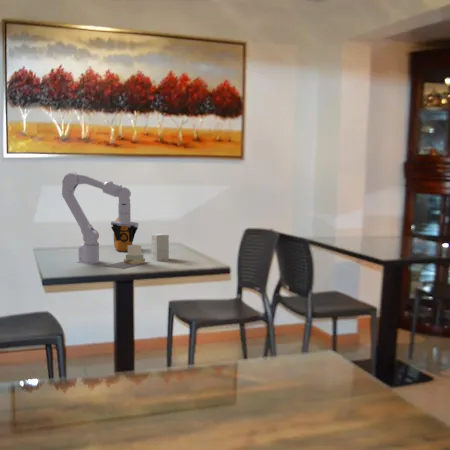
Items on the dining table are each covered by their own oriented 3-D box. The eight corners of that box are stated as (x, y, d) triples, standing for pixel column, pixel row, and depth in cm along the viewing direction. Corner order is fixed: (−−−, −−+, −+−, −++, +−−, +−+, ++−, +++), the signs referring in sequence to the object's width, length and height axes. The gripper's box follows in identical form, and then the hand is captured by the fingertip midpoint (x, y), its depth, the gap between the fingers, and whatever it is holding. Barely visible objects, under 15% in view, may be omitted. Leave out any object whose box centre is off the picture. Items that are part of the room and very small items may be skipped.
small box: (168, 261, 288) (168, 234, 287) (156, 261, 286) (156, 235, 284) (163, 258, 296) (163, 232, 294) (151, 259, 293) (151, 233, 291)
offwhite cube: (127, 254, 278) (127, 245, 278) (133, 253, 282) (133, 244, 281) (135, 255, 276) (135, 246, 275) (141, 254, 280) (141, 245, 279)
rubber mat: (102, 266, 270) (102, 266, 270) (129, 260, 287) (129, 260, 287) (124, 269, 264) (124, 269, 264) (151, 263, 281) (151, 262, 281)
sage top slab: (125, 259, 278) (125, 254, 278) (133, 257, 283) (133, 253, 283) (135, 260, 275) (135, 256, 275) (143, 258, 280) (143, 254, 280)
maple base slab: (124, 263, 278) (124, 259, 278) (133, 261, 284) (133, 257, 284) (135, 264, 275) (135, 260, 275) (144, 262, 281) (144, 258, 281)
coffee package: (114, 252, 314) (114, 211, 312) (113, 248, 326) (112, 209, 324) (133, 251, 316) (133, 211, 314) (131, 248, 328) (131, 209, 326)
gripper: (106, 212, 279) (107, 241, 281) (132, 214, 273) (132, 243, 275) (115, 211, 286) (115, 239, 287) (140, 213, 280) (140, 241, 281)
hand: (124, 241), depth 281 cm, fingers open, 7 cm apart
